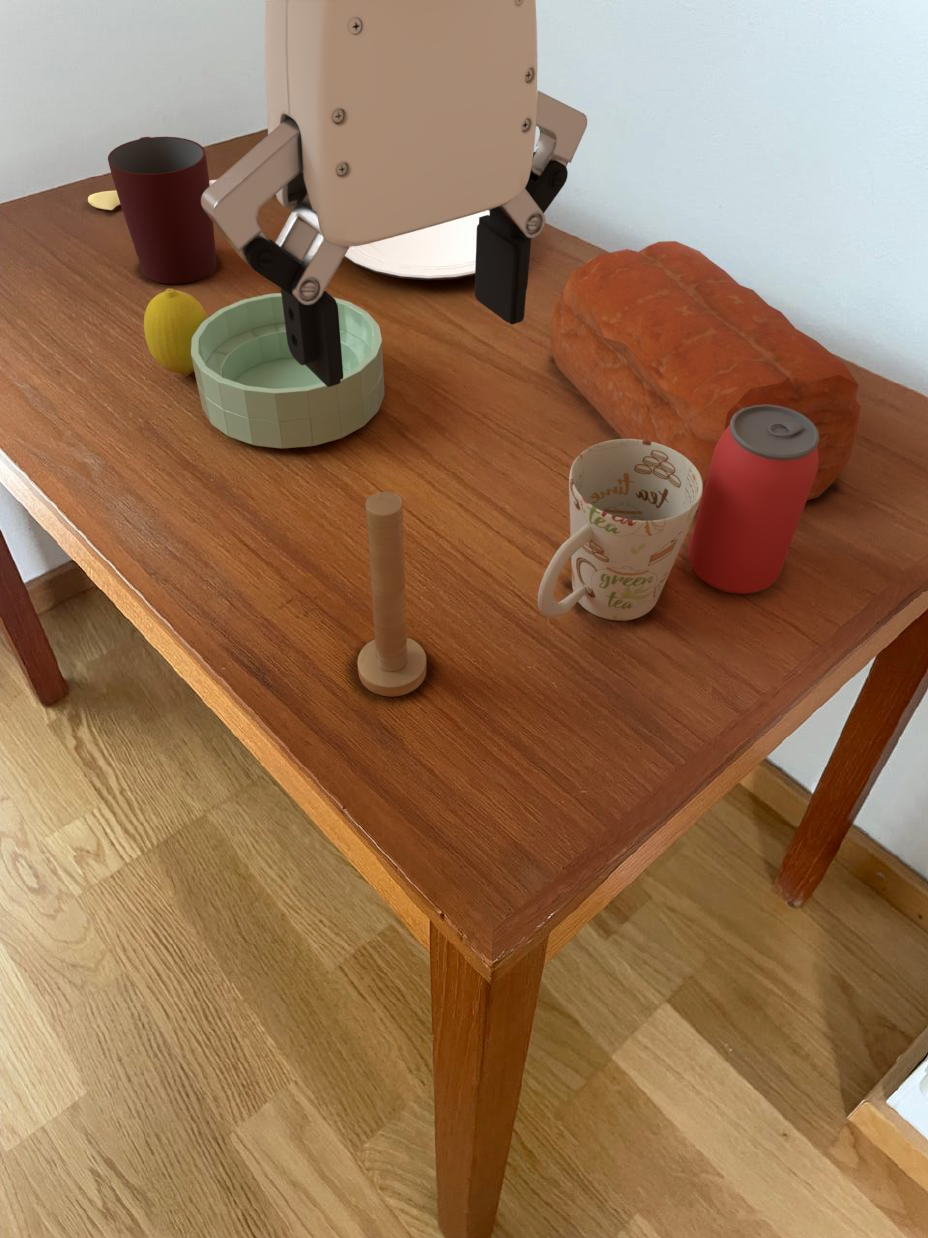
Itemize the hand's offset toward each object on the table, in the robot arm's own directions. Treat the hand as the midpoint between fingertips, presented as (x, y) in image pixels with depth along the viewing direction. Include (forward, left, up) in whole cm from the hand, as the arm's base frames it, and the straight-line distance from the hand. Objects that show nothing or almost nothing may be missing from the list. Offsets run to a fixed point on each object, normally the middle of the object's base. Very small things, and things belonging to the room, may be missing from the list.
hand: (413, 339), depth 44 cm
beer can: (+25, -1, -24) cm, 35 cm away
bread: (+33, +16, -24) cm, 44 cm away
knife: (+13, +74, -24) cm, 79 cm away
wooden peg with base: (-1, +1, -24) cm, 24 cm away
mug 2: (+14, 0, -24) cm, 28 cm away
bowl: (+4, +32, -24) cm, 41 cm away
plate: (+27, +53, -24) cm, 64 cm away
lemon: (-3, +40, -24) cm, 47 cm away
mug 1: (+2, +61, -24) cm, 66 cm away
